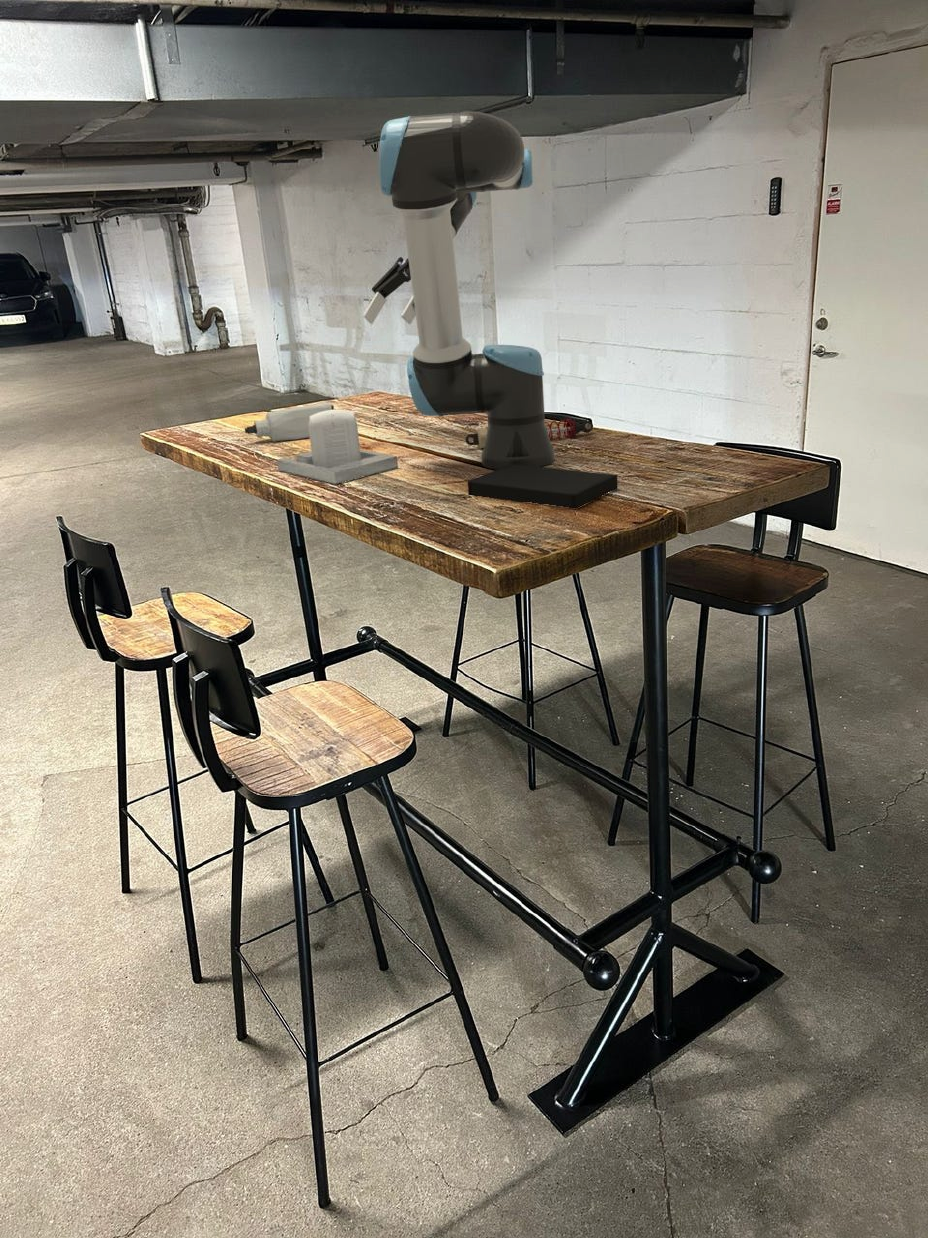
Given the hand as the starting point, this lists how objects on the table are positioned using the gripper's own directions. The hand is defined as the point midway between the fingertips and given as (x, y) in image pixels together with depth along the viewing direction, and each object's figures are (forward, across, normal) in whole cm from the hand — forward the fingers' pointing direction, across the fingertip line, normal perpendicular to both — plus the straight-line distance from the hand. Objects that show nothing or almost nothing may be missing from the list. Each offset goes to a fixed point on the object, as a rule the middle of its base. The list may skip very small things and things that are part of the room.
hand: (386, 319), depth 195 cm
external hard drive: (+28, -54, -14) cm, 62 cm away
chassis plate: (+34, -4, -6) cm, 35 cm away
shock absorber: (+6, -22, -35) cm, 42 cm away
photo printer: (+34, -4, -6) cm, 35 cm away
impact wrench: (+22, +44, -18) cm, 53 cm away
